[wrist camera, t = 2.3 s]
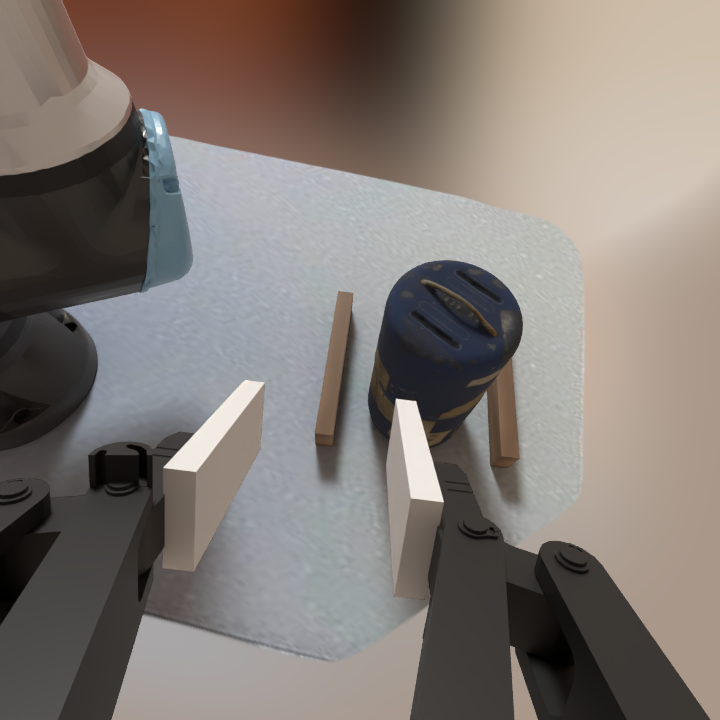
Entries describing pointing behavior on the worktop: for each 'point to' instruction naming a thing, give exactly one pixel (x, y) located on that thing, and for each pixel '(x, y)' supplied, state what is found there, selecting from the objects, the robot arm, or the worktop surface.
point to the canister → (442, 345)
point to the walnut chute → (498, 394)
